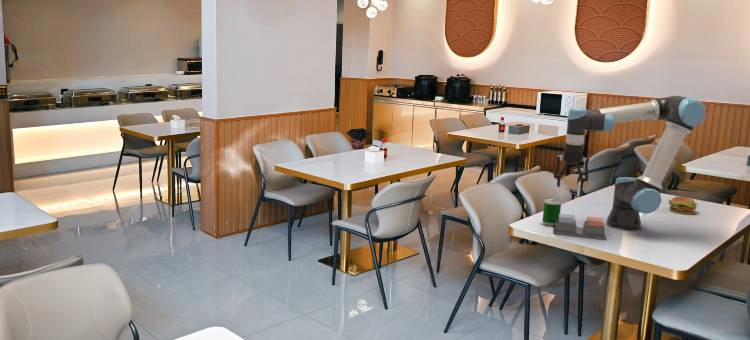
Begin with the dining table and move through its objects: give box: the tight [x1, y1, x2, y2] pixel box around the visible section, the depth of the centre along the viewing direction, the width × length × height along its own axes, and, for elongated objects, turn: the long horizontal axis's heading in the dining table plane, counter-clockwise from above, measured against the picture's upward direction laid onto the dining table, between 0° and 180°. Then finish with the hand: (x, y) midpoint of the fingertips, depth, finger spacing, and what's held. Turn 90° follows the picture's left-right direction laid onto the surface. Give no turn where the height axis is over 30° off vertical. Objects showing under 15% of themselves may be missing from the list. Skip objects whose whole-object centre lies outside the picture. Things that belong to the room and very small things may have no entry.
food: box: [668, 195, 698, 215], centre depth 346 cm, size 14×14×8 cm
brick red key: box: [585, 216, 604, 227], centre depth 293 cm, size 6×6×3 cm
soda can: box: [541, 197, 562, 227], centre depth 307 cm, size 8×8×12 cm
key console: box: [552, 218, 607, 241], centre depth 295 cm, size 22×11×5 cm, turn 75°
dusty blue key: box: [559, 213, 575, 224], centre depth 296 cm, size 6×6×3 cm
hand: (568, 195), depth 293 cm, fingers open, 7 cm apart
